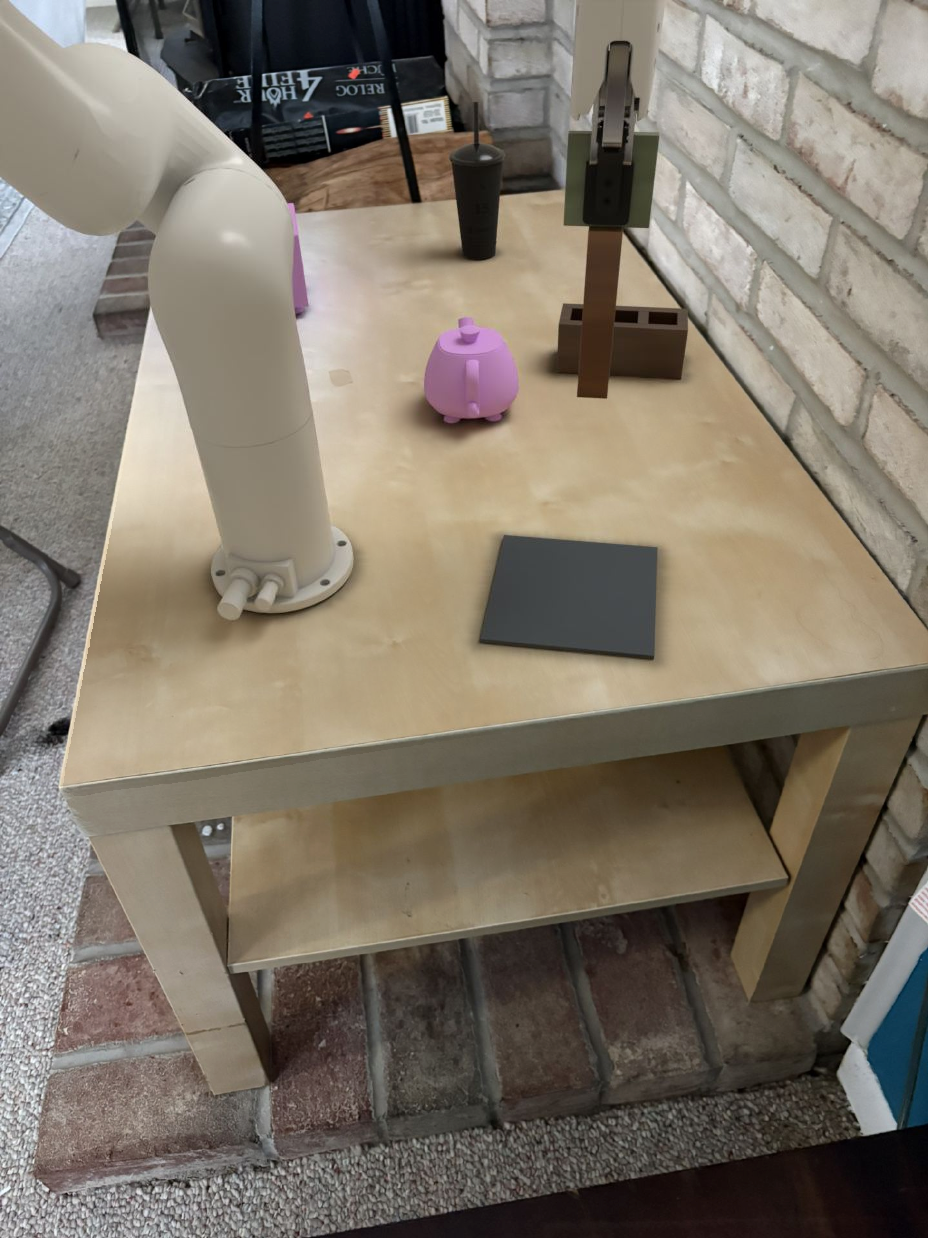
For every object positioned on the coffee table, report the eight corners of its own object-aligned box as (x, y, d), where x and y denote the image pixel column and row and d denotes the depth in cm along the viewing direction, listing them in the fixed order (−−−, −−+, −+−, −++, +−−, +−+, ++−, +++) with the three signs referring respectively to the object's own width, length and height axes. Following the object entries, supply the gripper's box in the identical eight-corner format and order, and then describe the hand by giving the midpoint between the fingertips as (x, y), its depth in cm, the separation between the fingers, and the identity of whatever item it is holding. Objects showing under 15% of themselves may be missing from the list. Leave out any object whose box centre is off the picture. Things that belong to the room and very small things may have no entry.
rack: (681, 379, 106) (688, 329, 102) (556, 372, 108) (558, 323, 104) (681, 356, 110) (687, 308, 106) (560, 350, 112) (563, 302, 108)
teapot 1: (311, 325, 119) (296, 226, 111) (232, 334, 118) (211, 234, 110) (303, 266, 134) (289, 174, 125) (233, 273, 133) (214, 181, 124)
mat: (653, 659, 73) (654, 655, 73) (480, 642, 75) (480, 638, 75) (656, 550, 83) (657, 546, 83) (503, 537, 85) (503, 534, 85)
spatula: (630, 400, 73) (659, 138, 60) (554, 396, 73) (567, 137, 61) (630, 385, 74) (659, 128, 62) (556, 381, 75) (569, 126, 62)
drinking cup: (444, 249, 137) (437, 99, 123) (490, 240, 139) (489, 91, 125) (466, 267, 132) (461, 112, 118) (513, 257, 134) (514, 104, 120)
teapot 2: (426, 440, 98) (420, 359, 92) (424, 373, 109) (419, 296, 103) (523, 436, 98) (524, 355, 92) (512, 368, 109) (512, 292, 103)
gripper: (573, -124, 58) (559, 182, 71) (558, -98, 47) (544, 259, 60) (694, -126, 57) (657, 184, 70) (706, -100, 46) (661, 263, 59)
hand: (605, 218), depth 65 cm, fingers closed on spatula, 1 cm apart
